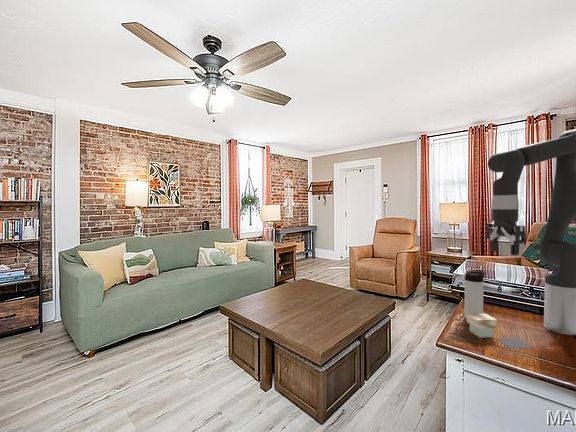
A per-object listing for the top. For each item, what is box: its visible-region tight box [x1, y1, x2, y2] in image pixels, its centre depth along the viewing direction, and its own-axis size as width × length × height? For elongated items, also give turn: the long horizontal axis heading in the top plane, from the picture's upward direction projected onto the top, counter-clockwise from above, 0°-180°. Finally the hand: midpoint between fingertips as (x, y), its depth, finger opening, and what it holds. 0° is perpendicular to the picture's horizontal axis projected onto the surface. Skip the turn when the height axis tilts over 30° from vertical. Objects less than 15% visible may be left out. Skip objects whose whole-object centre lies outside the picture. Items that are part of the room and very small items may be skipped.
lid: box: [466, 312, 498, 329], centre depth 99 cm, size 7×6×3 cm
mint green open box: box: [469, 324, 494, 339], centre depth 99 cm, size 5×5×4 cm
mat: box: [494, 337, 534, 349], centre depth 93 cm, size 8×6×1 cm
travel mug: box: [463, 271, 485, 321], centre depth 111 cm, size 6×7×20 cm
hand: (504, 253), depth 99 cm, fingers open, 8 cm apart
